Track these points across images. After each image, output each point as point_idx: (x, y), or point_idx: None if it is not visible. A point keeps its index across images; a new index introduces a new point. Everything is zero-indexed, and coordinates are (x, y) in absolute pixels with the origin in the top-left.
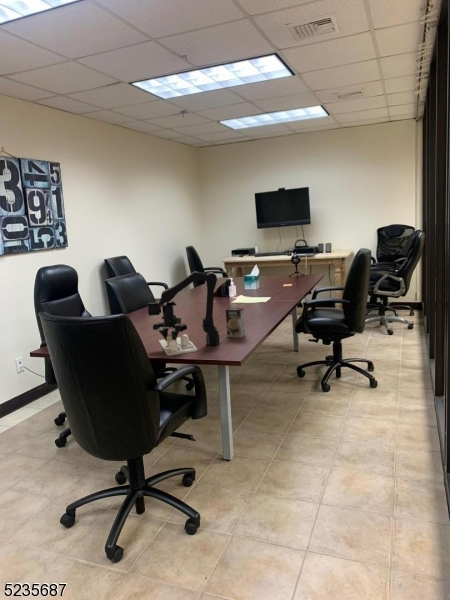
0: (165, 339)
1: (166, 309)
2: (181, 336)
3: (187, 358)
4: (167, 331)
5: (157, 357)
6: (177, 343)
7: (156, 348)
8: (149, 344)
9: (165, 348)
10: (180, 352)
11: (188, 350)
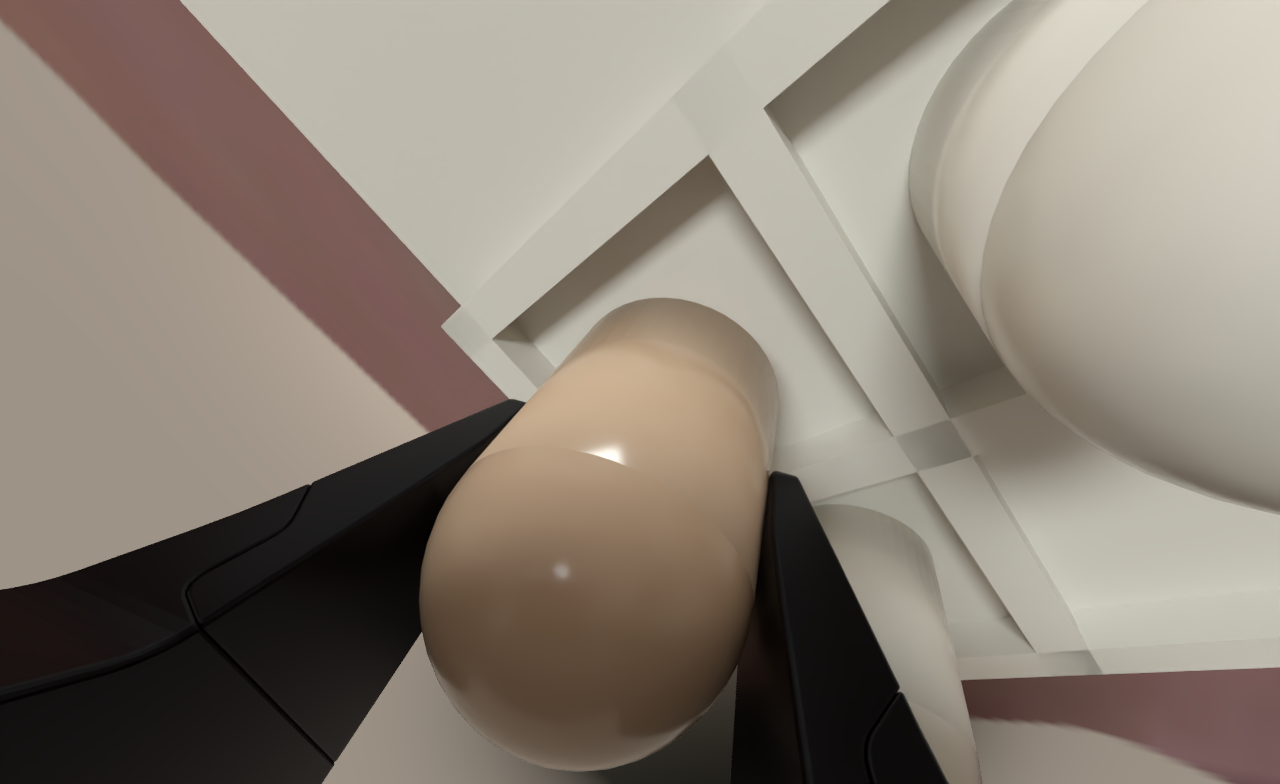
0: None
1: None
2: (1183, 455)
3: (1181, 757)
4: (136, 697)
5: None
6: (980, 771)
7: (373, 299)
8: (51, 61)
9: None
10: (1020, 663)
11: (1272, 663)
